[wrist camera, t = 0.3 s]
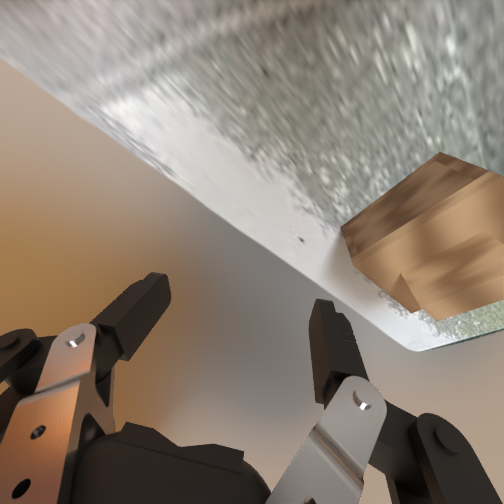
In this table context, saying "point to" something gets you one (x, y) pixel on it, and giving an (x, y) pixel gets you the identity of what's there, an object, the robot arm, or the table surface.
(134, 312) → the robot arm
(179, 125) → the table surface
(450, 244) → the lid
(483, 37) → the table surface
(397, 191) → the brown wooden box
